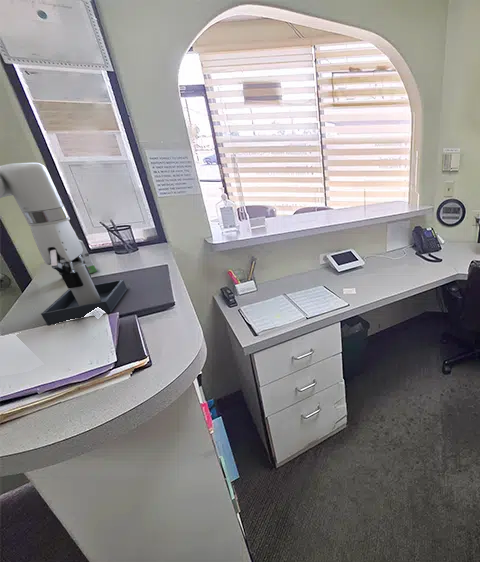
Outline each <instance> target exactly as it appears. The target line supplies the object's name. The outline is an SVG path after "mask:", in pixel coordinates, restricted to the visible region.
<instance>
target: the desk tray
mask: <svg viewBox="0 0 480 562" xmlns="http://www.w3.org/2000/svg"><path fill="white" fill-rule="evenodd" d="M94 286H95V288H96V290H97V292H98V294H99V296H100V298H101V301H100V302H97V303H92V304H87V305H81V306H79V304H78V302H77V301H76V299H75V297H74V295H73V293H72V291H71V289H70V288H67V290H66V291H65V292H64V293H63V294H62V295H60V296H59V297H58V298H57V299H56V300H55V301H54V302H53V303H52V304H50V305H49V306H48V307H47V308H46V309H45V310H44V311H43V312H41V313H40V315H41V317H42V318H43V320H44V322H45V323H46V325H47V326H51V324H53V325H57V324H56V323H58V324H60V323H59V322H63V321H66V320H70V319H75V318H81V317H84V316H85V315H86V314H87V313H89V312H91V311H92V310H94V309H95V308H97V307H99V308H101V309H102V310H104V311H105V312H106V313H107V314H111V313H112V312H113V311H114V309H116V308H115V307H116V306H117V305H118V303H120V301H121V299H122V298H123V297H124V295H125V293H126V292H127V291H128V288H127V286H126V283H125V280H124V279H118V280H113V281H112V280H111V281H106V282H102V283H101V282H100V283H94ZM63 323H64V322H63Z"/></svg>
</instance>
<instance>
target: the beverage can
mask: <svg viewBox="0 0 480 562" xmlns="http://www.w3.org/2000/svg"><path fill="white" fill-rule="evenodd" d="M82 263H83V262H72V264H73V267H74V270H75V272H78V274H79V276H80V278H81V280H82V282H83V284H84V285H83V286H81V287H75V288H69V289H71V291H72V293H73V295H74V297H75V299H76V301H77V302H78V304H79V306H81V305H87V304H92V303H97V302H100V301H101V298H100V296H99V294H98V292H97V290H96V288H95V286H94V285H95V283H94V282H93V279H92V277H91V278H90V275H91V274H90V275H89V273H88V271H87V269H86V267H85V265H84V264H82ZM64 265H65V266H67V267H68V264H64ZM64 265H63V266H64ZM68 268H69V267H68Z"/></svg>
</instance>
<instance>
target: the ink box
mask: <svg viewBox="0 0 480 562" xmlns="http://www.w3.org/2000/svg"><path fill="white" fill-rule="evenodd" d="M79 241H80V243H81V245H82V248H83V252H82V255H83V259H84V261H85V265H86V266H87V268H88V271H89V273H90V274H93V273H97V272H98V270H97V268H96V265H95V264H94V262H93V259H92V258H91V255H90V253H89V252H88V250H87V247H86V246H85V244H84V242H83V240H81V239H79ZM60 262H66V261H65V259H64V260H60ZM63 265H64V264H63Z"/></svg>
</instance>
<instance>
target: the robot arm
mask: <svg viewBox="0 0 480 562" xmlns="http://www.w3.org/2000/svg"><path fill="white" fill-rule="evenodd" d="M11 196H13V197H14V200H15V201H16V203H17V206H18V208H19V209H20V212H21V214H22V215H23V217H24V219H25V221H26V223H27V225H28V226H30V230H31V234H32V237H33V239H34V242H35V245H36V247H37V249H38V251H39V254H40V256H41V258H42V260H43V262H44V263H45V264H46V265H48V266H51V268H52V269H53V270H55V271H57V273H58V275H60V276H61V279H63V282H64V284H65V286H66V287H67V289H70V288H75V287H81V286H83V285H84V284H83V282H82V280H81V278H80V276H79V274H78V272H75V270H74V267H73V264H72V262H83V263H82V264H84V265H85V261H84V259H83V255H82V252H83V248H82V245H81V243H80V241H79V240H80V239H79V236H78V235H77V233H76V231H75V229H74V228H73V226H72V225H71V223H70V221H69V220H71V218H70V216H69V213H68V211H67V209H66V207H65V204H64V203H63V201H62V198H61V197H60V195H59V192H58V190H57V188H56V186H55V184H54V181H53V179H52V177H51V175H50V173H49V171H48V169H47V167H46V166H45V165H43V164H42V163H39V162H17V163H16V162H15V163H6V164H3V165H0V199H1V198H6V197H11ZM64 259H65V261H66V262H60V260H64ZM63 264H68V267H69V268H68V267H67V266H65V265H64V266H63ZM85 267H86V269H87V271H88V268H87V266H86V265H85ZM88 273H89V271H88ZM89 275H90V278H91V279H92V275H91V273H89Z"/></svg>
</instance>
